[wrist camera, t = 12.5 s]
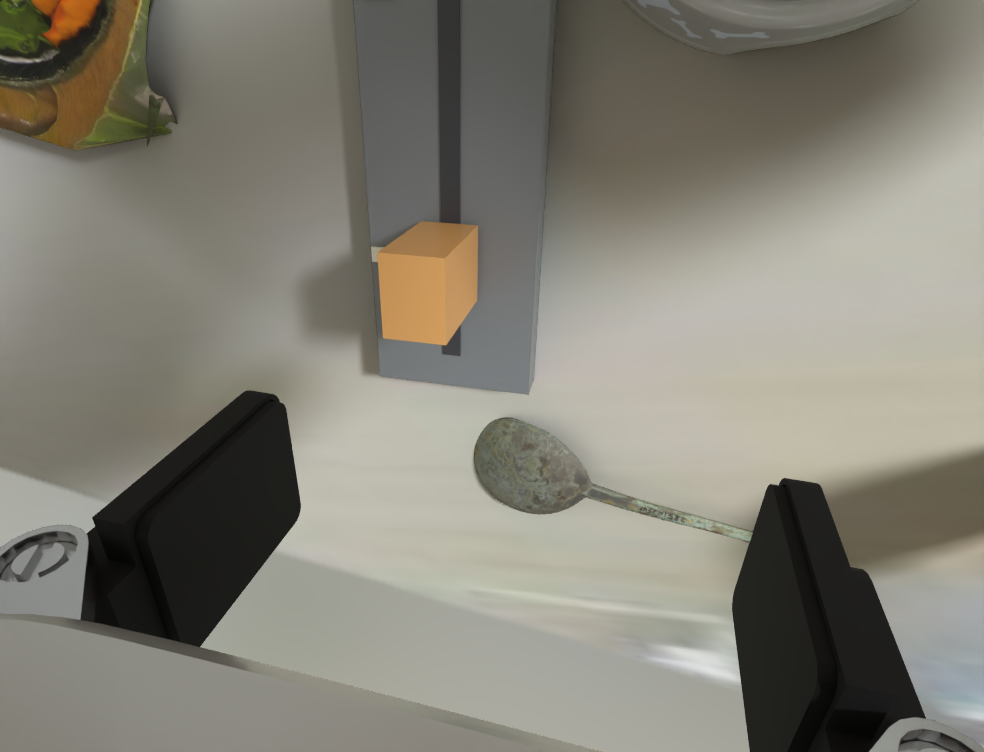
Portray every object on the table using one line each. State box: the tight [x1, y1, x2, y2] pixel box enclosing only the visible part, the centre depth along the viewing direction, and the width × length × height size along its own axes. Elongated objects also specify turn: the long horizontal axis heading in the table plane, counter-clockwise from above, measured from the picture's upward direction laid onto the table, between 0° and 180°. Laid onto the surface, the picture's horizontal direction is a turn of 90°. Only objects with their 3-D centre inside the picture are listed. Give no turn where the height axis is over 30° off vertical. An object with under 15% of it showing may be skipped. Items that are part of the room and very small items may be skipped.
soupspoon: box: [474, 418, 753, 542], centre depth 38 cm, size 22×3×7 cm
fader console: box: [353, 0, 557, 395], centre depth 31 cm, size 23×9×2 cm, turn 179°
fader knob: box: [377, 221, 478, 345], centre depth 29 cm, size 4×3×6 cm
